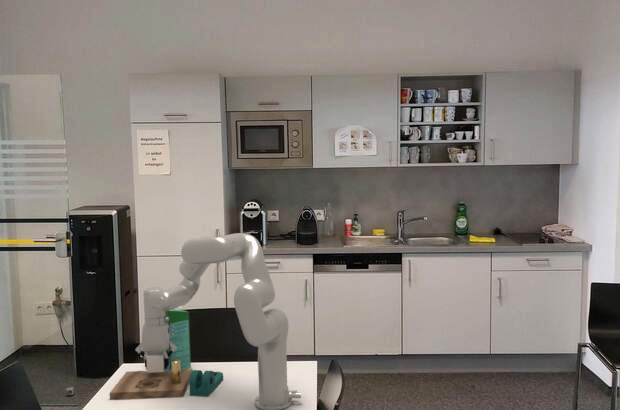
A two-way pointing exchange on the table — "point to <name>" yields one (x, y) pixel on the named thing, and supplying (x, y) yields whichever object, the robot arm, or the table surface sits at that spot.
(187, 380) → the walnut board
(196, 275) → the robot arm
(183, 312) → the milk carton
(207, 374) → the bracket
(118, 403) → the table surface
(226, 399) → the table surface
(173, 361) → the brass pin
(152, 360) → the cream cube
